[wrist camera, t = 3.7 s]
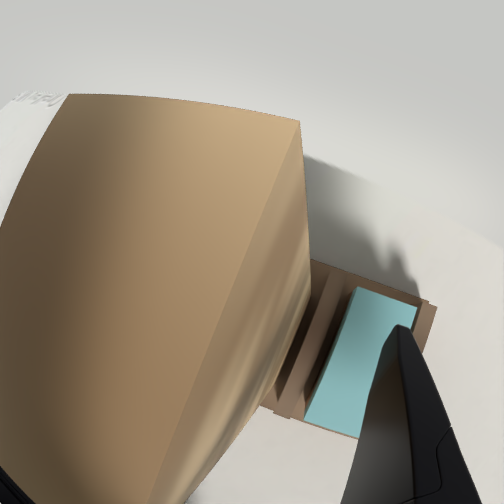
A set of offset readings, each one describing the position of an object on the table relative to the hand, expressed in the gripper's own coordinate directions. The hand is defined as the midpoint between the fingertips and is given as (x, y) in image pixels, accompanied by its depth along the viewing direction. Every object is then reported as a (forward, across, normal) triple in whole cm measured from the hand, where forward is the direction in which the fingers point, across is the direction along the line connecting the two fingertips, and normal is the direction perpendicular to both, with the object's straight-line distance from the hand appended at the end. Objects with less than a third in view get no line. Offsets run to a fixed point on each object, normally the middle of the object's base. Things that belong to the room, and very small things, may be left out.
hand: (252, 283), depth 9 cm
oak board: (+4, 0, +6) cm, 7 cm away
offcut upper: (+3, -5, +5) cm, 7 cm away
